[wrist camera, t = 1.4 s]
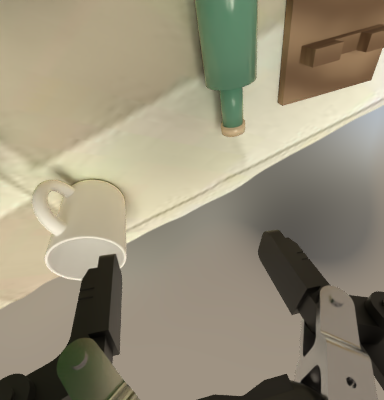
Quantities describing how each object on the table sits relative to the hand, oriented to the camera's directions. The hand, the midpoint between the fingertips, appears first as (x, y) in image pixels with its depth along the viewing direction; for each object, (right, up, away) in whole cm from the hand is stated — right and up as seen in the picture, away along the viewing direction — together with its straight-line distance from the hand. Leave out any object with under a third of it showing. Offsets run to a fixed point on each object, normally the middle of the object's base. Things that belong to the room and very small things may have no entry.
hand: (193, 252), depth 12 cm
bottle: (+3, +19, +11) cm, 22 cm away
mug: (-15, +4, +19) cm, 25 cm away
